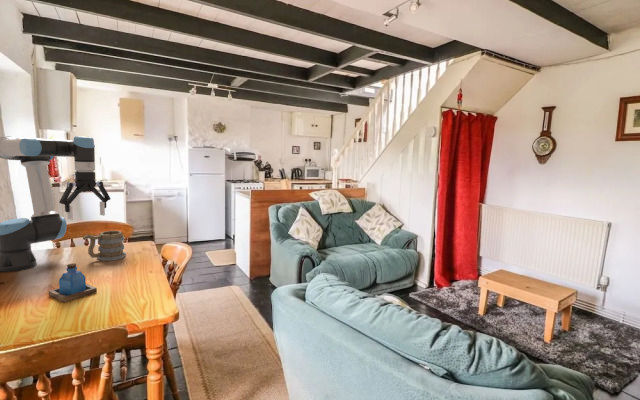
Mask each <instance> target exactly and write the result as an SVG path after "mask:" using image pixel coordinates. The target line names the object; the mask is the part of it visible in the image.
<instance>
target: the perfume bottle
mask: <svg viewBox="0 0 640 400" xmlns="http://www.w3.org/2000/svg"><path fill="white" fill-rule="evenodd" d="M66 266H67V267H66V271H67V272H64V273H62V275H61V276H60V278H59V279H58V288H59V290H60V294H62V295H66V296H68V295H72V294H75V293H78V292H81V291H85V290H86V284H87V282H86V281H87V280H86V276H85V274H83V273H82V271H80V270H78V266H77V263H72V262H71V263H68V264H66Z"/></svg>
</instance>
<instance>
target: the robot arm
mask: <svg viewBox="0 0 640 400" xmlns="http://www.w3.org/2000/svg"><path fill="white" fill-rule="evenodd" d="M95 150H96V149H95V139H94V138H93V137H91V136H77V135H76V136H74V137H73V140H71V139H53V138H51V139H50V138H40V137H23V136H0V159H4V160H9V161H20V165H21V166H23V167H24V168H25V171H26V177H27V182H28V183H27V184H28V188H29V194H30V198H31V204H32V210H33V214H32V215H31V216H30V219H29V218H27V217H20V218H12V219H8V220H5V221H1V222H0V272H1V273H11V272H18V271H25V270H28V269H31V268H34V267H35V266H37V264H38V263H37V258H36V256H35V255H34V253H33V251H32V244H38V243H42V242H50V241H55V240H59V239H62V238H64V236H65V234H66V233H67V228H68V225H67V220H69V221H70V220H71V221H72V220H73V219H74V218H73V205H72V204H71V203H73V201H74V200H75V199H77V197H78V196H79V194H81V193H82V192H83V193H87V192H92V193H93V194H94V195H95V196H96V197H97V198H98V199H99V200H100V201H99V215H100V216H106V208H107V202H108V201H111V197H110V195H109V193H108V191H107V190H106V188H105V186H104V182H103V181H101V180H98V181H96V172H95V171H96V163H95V161H96V158H95V154H96V153H95ZM54 157H64V158H65V157H67V158H69V157H71V158H73V159H74V170H75V171H74V176H75V178H74V179H75V182H70V181H68V182H66V188H65V190H64V192H63V193H62V196H61V198H60V199H59V204H61V205H64V211H65V213H67V220H66V218H65V217H63V216H60V212H58V211H56V208H55V203H54V197H53V191H52V187H51V181H50V176H49V175H50V174H49V170H48V165H50V164H51V161H52V160H54ZM96 186H97V187H98V188H99V191H100V192H101V193H100V192H99V191H98V189H97V188H96ZM74 187H76V188H74ZM73 188H74V190H73ZM72 191H73V192H72Z"/></svg>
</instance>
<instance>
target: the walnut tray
mask: <svg viewBox="0 0 640 400" xmlns="http://www.w3.org/2000/svg"><path fill="white" fill-rule="evenodd" d="M97 290H98V288H97V287H95V286H92V285H90V284H89V283H86V290H85V291H81V292H78V293H75V294H72V295H68V296H66V295H62V294H60V290H59V287H58V288H54V289H50V290H48V296H50V297H51V298H53V299H54V300H57V301H59V302H61V303H63V304H65V303H68V302H71V300H72V301H75V300H78V299H80V298H84V297H88V296H91V295H93V294H96V293H97V292H98V291H97Z"/></svg>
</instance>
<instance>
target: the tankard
mask: <svg viewBox="0 0 640 400" xmlns="http://www.w3.org/2000/svg"><path fill="white" fill-rule="evenodd" d="M82 239H83V240H84V241H86V240H88V239H89V240H90V241H89V246H88V249H87V253H88V255H89V257H90V258H91V259H93V258H95V259H96V258H97V260H100V262H101V261H102V262H105V261H108V262H111V261H117V260H118V261H119V260H122V259H123V258H125V257H126V256H127V253H126V252H124V249H125V244H124V243H123V242H124V240H125V236H124V235H123V231H120V230H107V231H102V232H99V234H98V235H96V236H95V235H91V234H85V235H84V236H83V237H82ZM96 240H97V243H98V244H99V246H98V247H97V248H98V250H97V251H98V252H97V253H94V248H95V245H96Z"/></svg>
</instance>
